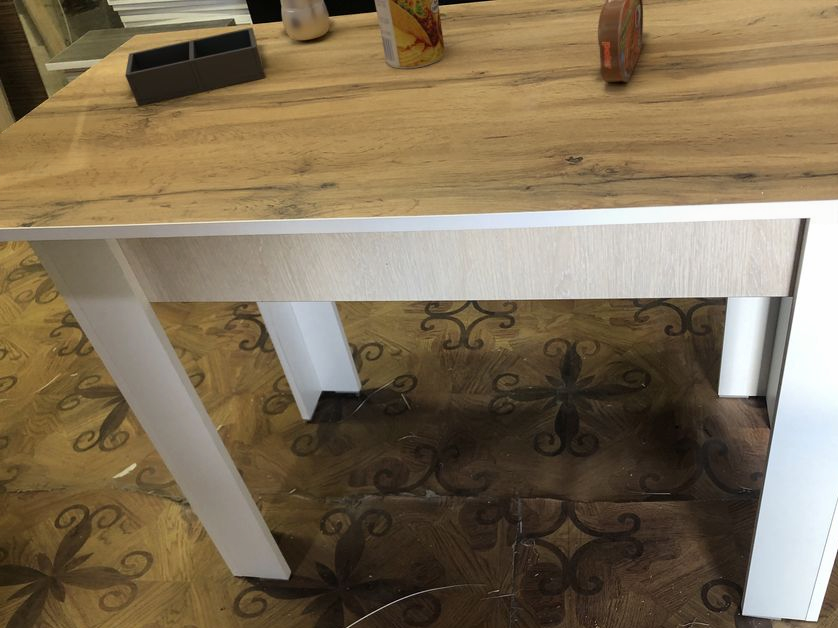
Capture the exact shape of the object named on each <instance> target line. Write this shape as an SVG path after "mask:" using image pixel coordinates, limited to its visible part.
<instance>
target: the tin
mask: <svg viewBox="0 0 838 628" xmlns="http://www.w3.org/2000/svg"><path fill="white" fill-rule="evenodd" d="M643 5H644V3H643V0H605V3H604V4H603V6H602V8H601V11H600V14H599V18H598V26H597V41H598V42H597V43H598V48H599V59H600V76H601V79H602V80H603V81H604V82H606V83H617V82H619V83H621V82H623V83H628V82H629V81H630V78H631V76H632V74H633V71H634V68H635V66H636V64H637V62H638V59H639V57H640V55H641V49H642V44H643V35H644V34H643V33H644V6H643Z"/></svg>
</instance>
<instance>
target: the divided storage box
mask: <svg viewBox="0 0 838 628" xmlns="http://www.w3.org/2000/svg"><path fill="white" fill-rule="evenodd" d="M125 78H126V81H127V83H128V85H129V88H130V91H131V92H132V95H133V98H134V101H135V103H136V105H137V106H139V107H140V106H144V105H148V104H153V103H159V102H161V101H166V100H171V99H176V98H180V97H184V96H190V95H193V94H194V95H195V94H198V93H202V92H208V91H211V90H216V89H221V88H224V87H229V86H234V85H239V84H242V83H248V82H251V81H257V80H261V79H265V78H266V73H265V68H264V65H263V60H262V56H261V53H260V49H259V45H258V42H257V39H256V35H255V31H254V29H253V27H248V28H242V29H238V30H233V31H229V32H223V33H219V34H215V35H209V36H205V37H200V38H196V39H190V40H186V41H181V42H177V43H171V44H167V45H163V46H158V47H153V48H149V49H144V50H139V51H133V52H130V53H128V57H127V64H126V70H125Z"/></svg>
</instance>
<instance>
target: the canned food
mask: <svg viewBox="0 0 838 628" xmlns="http://www.w3.org/2000/svg"><path fill="white" fill-rule="evenodd" d="M374 4H375V9H376V16H377V20H378V27H379V31H380V36H381V43H382V46H383V53H384V57H385V61H386V64H387V65H388V66H389V67H392V68H395V69H402V70H403V69H404V70H405V69H407V70H409V69H417V68H418V69H419V68H422V67H426V66H430V65H432V64H434V63H437V62H439V61H441V60H442V59H443V58H444V57H445V54H446V50H445V42H444V35H443V28H442V27H443V26H442V19H441V13H440V6H439V0H374Z"/></svg>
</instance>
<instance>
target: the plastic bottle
mask: <svg viewBox="0 0 838 628" xmlns="http://www.w3.org/2000/svg"><path fill="white" fill-rule="evenodd" d="M280 5H281V20H282V26H283V27H284V31H285V32H286V34H287V35H288V36H289V38H291V39H292V40H295V41H307V40H313V39H317V38H320V37H322V36H325V34H327V33H328V31H329V28H330V15H329V11H328V9H327V5H326V2H325V1H324V0H280Z"/></svg>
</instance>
